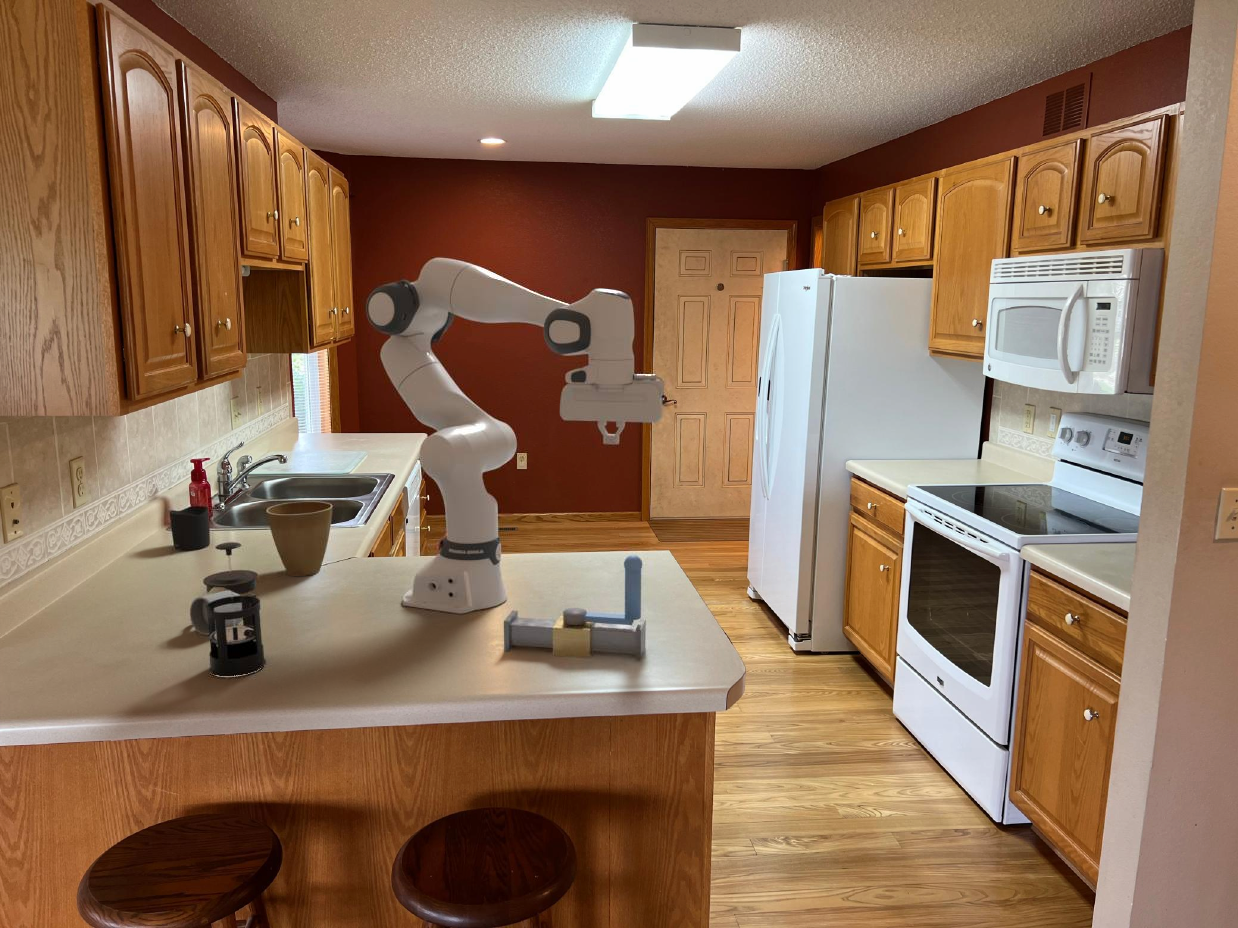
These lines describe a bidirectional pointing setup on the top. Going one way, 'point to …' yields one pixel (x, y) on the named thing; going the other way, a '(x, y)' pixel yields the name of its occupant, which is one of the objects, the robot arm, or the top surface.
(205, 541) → the pen holder
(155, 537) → the top surface
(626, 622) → the lever
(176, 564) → the top surface
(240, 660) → the french press
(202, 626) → the ceramic mug
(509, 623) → the valve pipe
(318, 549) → the plant pot
